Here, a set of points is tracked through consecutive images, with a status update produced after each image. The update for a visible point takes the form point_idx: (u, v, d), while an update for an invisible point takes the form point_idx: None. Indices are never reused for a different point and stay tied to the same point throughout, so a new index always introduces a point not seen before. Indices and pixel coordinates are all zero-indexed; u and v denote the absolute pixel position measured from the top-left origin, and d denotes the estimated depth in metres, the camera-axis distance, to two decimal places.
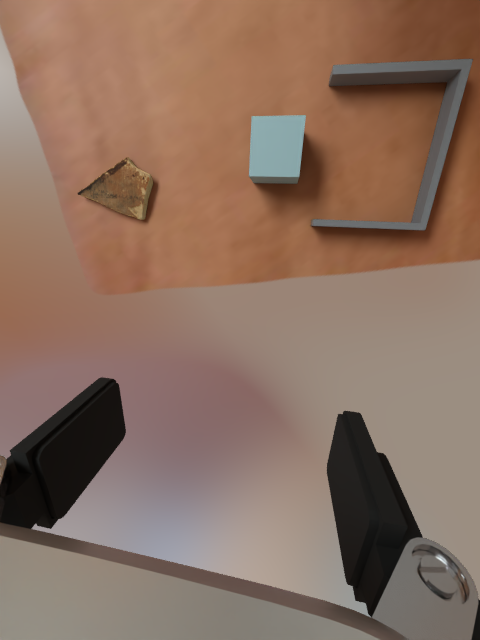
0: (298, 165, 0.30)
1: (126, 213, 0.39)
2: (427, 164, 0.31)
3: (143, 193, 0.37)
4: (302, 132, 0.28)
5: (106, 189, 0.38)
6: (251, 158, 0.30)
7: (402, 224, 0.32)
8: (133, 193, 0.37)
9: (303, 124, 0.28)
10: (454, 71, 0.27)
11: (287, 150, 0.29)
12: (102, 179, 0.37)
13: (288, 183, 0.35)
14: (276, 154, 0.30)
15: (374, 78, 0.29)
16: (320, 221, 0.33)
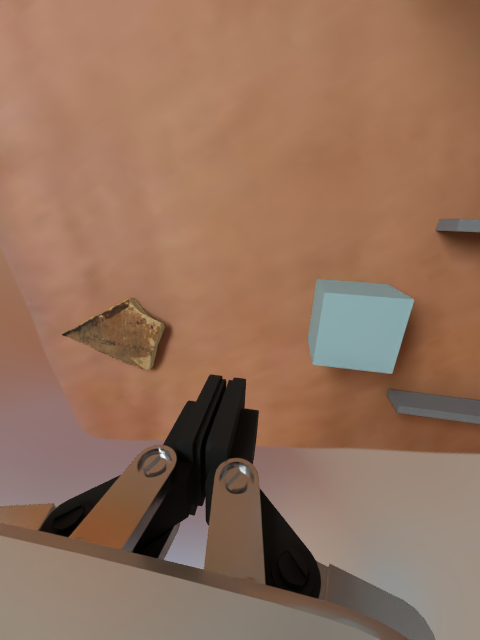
0: (393, 360, 0.19)
1: (128, 362, 0.28)
2: None
3: (151, 344, 0.27)
4: (405, 320, 0.18)
5: (100, 334, 0.28)
6: (318, 344, 0.20)
7: None
8: (138, 343, 0.27)
9: (408, 310, 0.18)
10: None
11: (378, 340, 0.19)
12: (95, 323, 0.27)
13: None
14: (359, 343, 0.19)
15: None
16: (409, 409, 0.23)
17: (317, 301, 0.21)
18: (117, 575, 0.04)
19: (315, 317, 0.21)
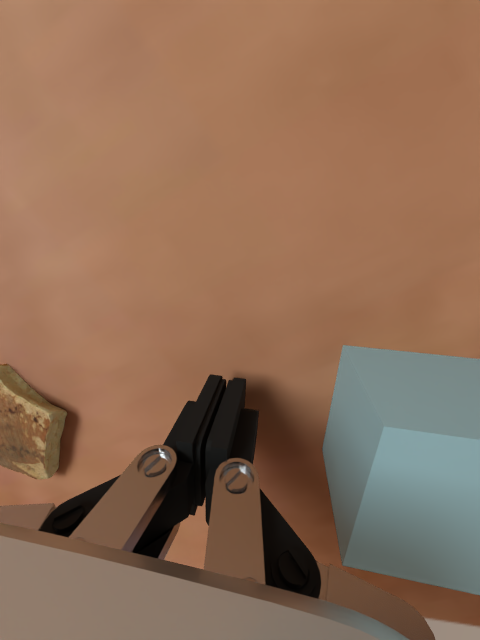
0: None
1: (11, 468, 0.16)
2: None
3: (40, 446, 0.15)
4: None
5: None
6: (359, 530, 0.08)
7: None
8: (17, 443, 0.15)
9: None
10: None
11: None
12: None
13: None
14: (467, 542, 0.07)
15: None
16: None
17: (349, 406, 0.09)
18: (117, 575, 0.04)
19: (344, 439, 0.10)
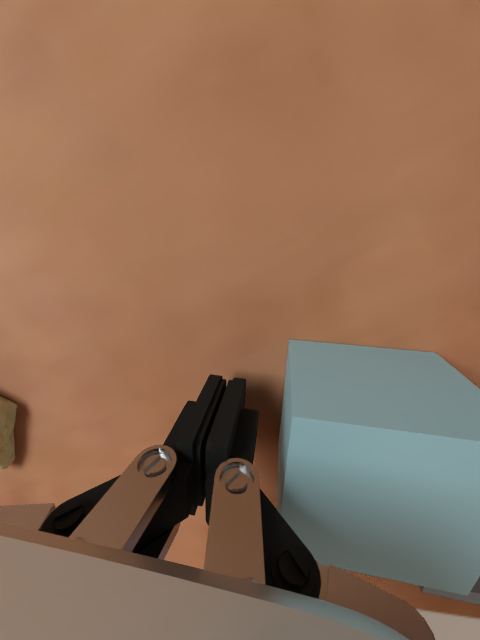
0: (472, 571, 0.08)
1: None
2: None
3: None
4: None
5: None
6: (285, 520, 0.08)
7: None
8: None
9: None
10: None
11: (436, 531, 0.07)
12: None
13: None
14: (386, 530, 0.08)
15: None
16: None
17: (286, 400, 0.10)
18: (117, 575, 0.04)
19: (283, 432, 0.10)
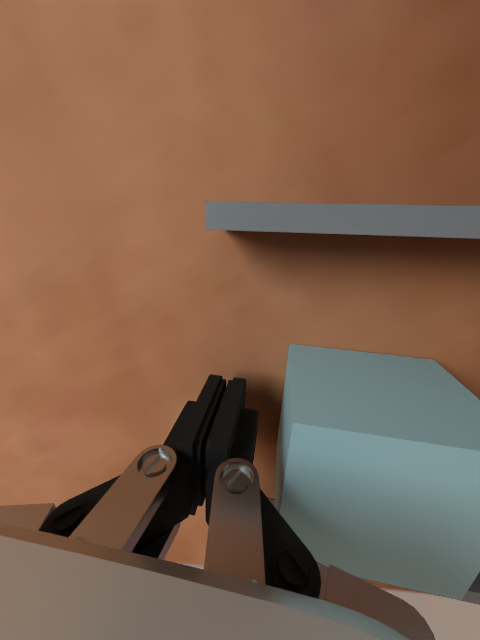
0: (466, 577, 0.08)
1: None
2: None
3: None
4: None
5: None
6: None
7: None
8: None
9: None
10: None
11: (431, 536, 0.07)
12: None
13: None
14: (383, 535, 0.08)
15: None
16: None
17: (286, 404, 0.10)
18: (117, 575, 0.04)
19: (282, 436, 0.10)
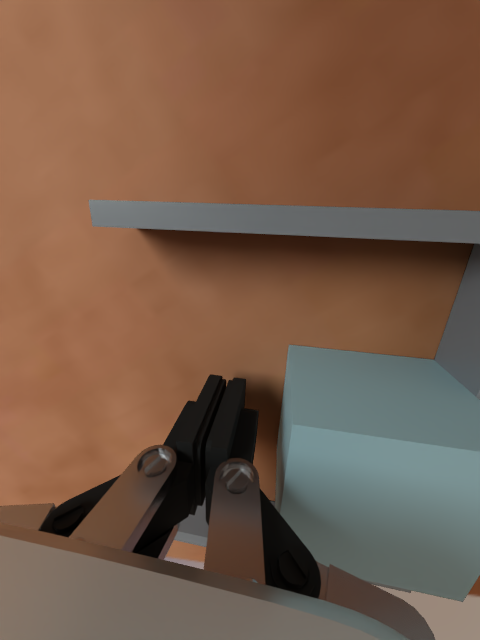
0: (468, 578, 0.08)
1: None
2: None
3: None
4: None
5: None
6: None
7: None
8: None
9: None
10: None
11: (432, 538, 0.07)
12: None
13: None
14: (383, 536, 0.08)
15: None
16: None
17: (286, 406, 0.10)
18: (117, 575, 0.04)
19: (282, 437, 0.10)
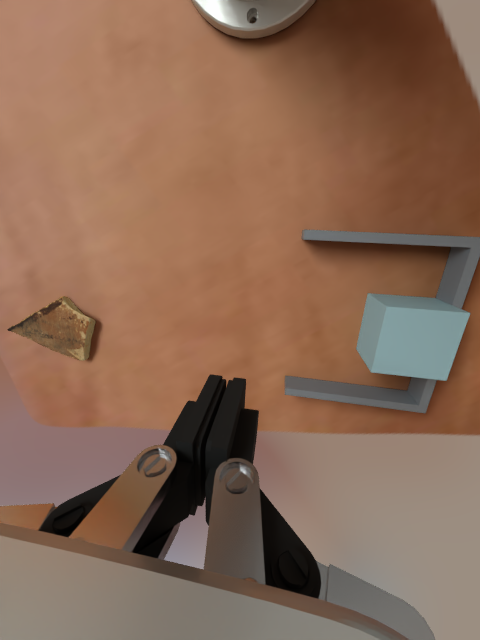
0: (447, 368, 0.21)
1: (65, 354, 0.32)
2: None
3: (83, 337, 0.31)
4: (461, 331, 0.20)
5: (40, 329, 0.31)
6: (377, 353, 0.22)
7: (396, 404, 0.25)
8: (71, 336, 0.31)
9: (464, 323, 0.20)
10: (461, 247, 0.20)
11: (434, 350, 0.21)
12: (35, 319, 0.31)
13: None
14: (416, 352, 0.21)
15: None
16: (294, 391, 0.27)
17: (372, 314, 0.23)
18: (117, 575, 0.04)
19: (370, 328, 0.23)
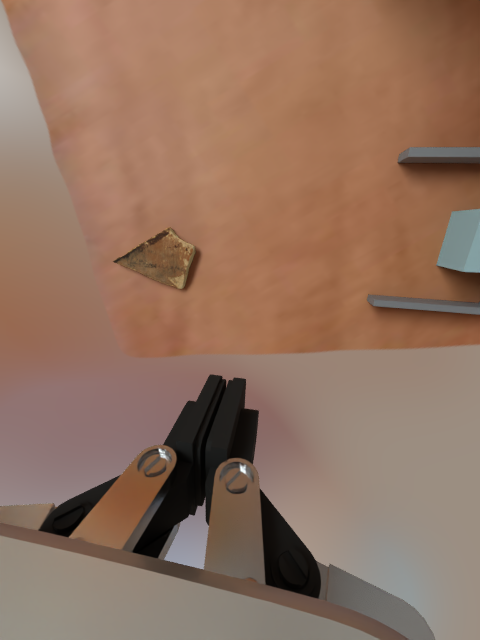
0: None
1: (165, 282, 0.36)
2: None
3: (185, 264, 0.34)
4: None
5: (145, 259, 0.35)
6: (471, 253, 0.26)
7: (474, 309, 0.29)
8: (174, 264, 0.35)
9: None
10: None
11: None
12: (141, 249, 0.35)
13: None
14: None
15: (453, 160, 0.26)
16: (382, 302, 0.31)
17: (461, 224, 0.27)
18: (117, 575, 0.04)
19: (458, 238, 0.27)
